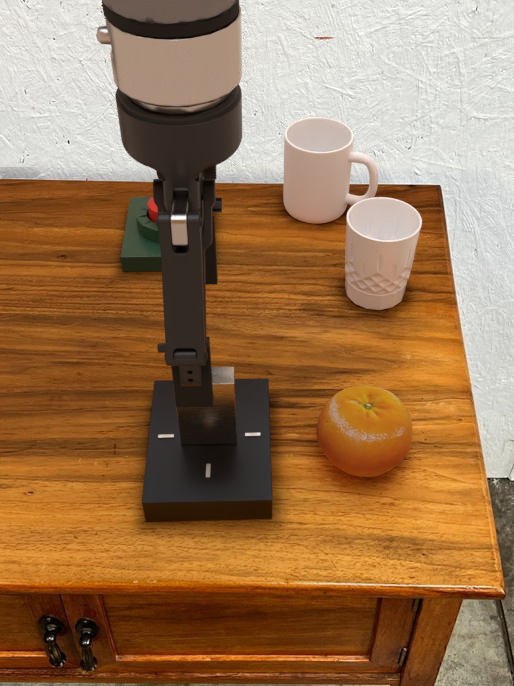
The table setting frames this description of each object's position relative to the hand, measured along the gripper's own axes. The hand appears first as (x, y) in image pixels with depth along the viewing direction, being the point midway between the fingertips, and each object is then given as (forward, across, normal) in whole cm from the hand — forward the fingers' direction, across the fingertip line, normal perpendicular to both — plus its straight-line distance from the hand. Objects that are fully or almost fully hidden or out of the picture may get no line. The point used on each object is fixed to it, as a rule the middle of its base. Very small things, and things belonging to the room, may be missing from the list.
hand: (198, 338), depth 62 cm
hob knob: (+12, +1, 0) cm, 12 cm away
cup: (+15, -38, +14) cm, 44 cm away
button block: (+15, -32, -6) cm, 36 cm away
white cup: (+15, -22, +18) cm, 33 cm away
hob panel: (+15, +1, 0) cm, 15 cm away
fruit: (+15, +1, +14) cm, 21 cm away
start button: (+12, -32, -6) cm, 35 cm away
